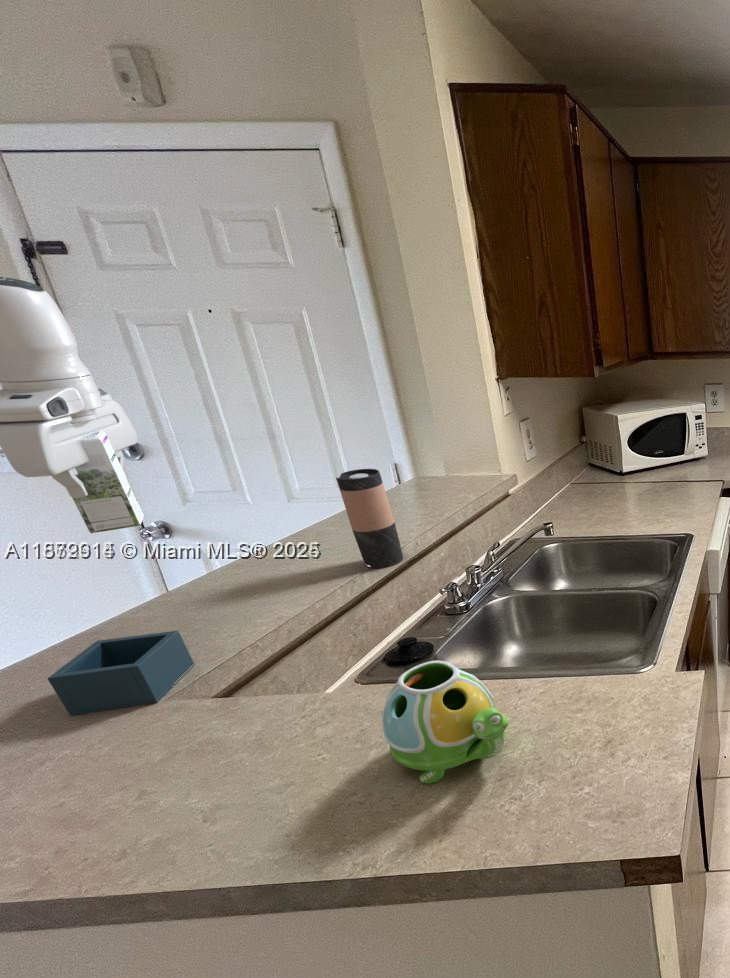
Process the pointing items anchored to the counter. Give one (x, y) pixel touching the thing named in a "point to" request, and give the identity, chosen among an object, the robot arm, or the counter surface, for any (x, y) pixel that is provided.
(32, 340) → the robot arm
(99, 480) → the syrup box
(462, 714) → the turtle holder
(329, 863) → the counter surface
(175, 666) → the box
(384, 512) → the travel mug
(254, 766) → the counter surface
